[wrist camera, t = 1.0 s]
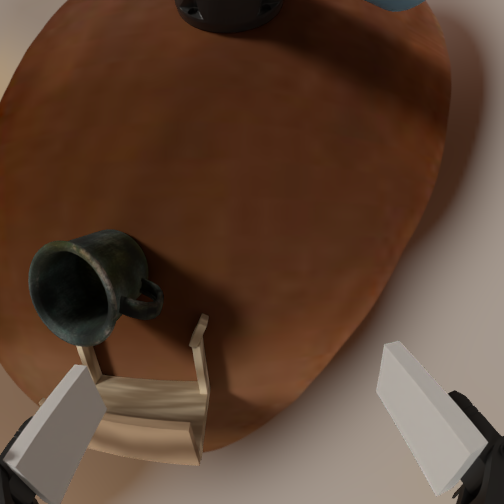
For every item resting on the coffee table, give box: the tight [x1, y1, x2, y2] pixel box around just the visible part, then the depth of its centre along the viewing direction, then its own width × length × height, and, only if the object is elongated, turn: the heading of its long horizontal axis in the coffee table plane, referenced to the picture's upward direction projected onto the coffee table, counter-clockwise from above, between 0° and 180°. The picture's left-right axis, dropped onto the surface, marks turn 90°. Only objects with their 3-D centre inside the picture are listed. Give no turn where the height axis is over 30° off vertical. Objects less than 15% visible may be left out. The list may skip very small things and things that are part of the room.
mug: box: [29, 230, 164, 347], centre depth 28 cm, size 11×15×12 cm
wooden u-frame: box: [39, 313, 210, 466], centre depth 29 cm, size 13×21×15 cm, turn 92°
